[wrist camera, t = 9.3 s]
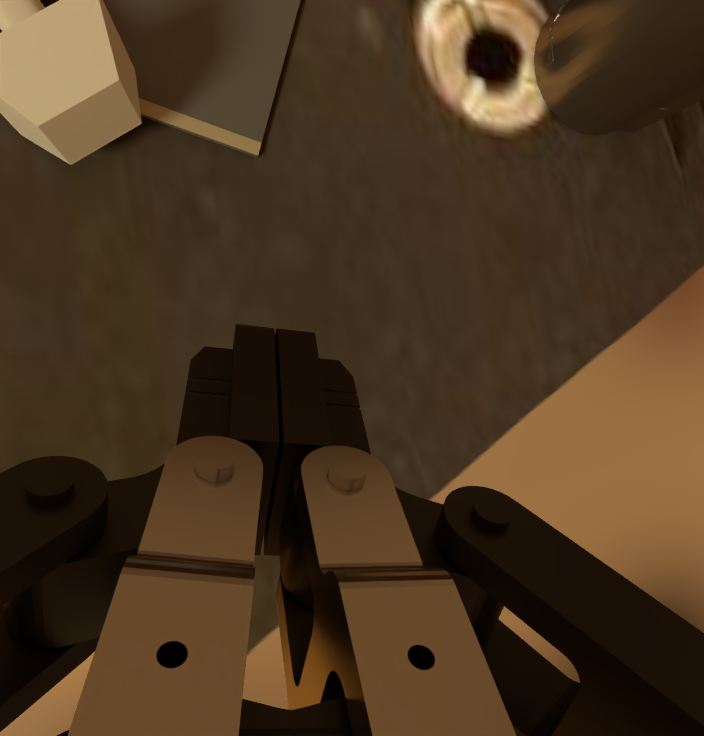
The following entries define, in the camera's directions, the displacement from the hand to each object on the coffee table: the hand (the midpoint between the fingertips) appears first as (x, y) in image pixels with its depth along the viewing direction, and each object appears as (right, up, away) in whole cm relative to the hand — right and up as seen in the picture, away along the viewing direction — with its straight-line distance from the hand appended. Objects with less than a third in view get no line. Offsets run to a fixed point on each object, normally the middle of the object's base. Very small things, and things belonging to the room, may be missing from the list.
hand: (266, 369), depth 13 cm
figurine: (-11, +12, +20) cm, 26 cm away
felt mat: (-8, +20, +26) cm, 33 cm away
